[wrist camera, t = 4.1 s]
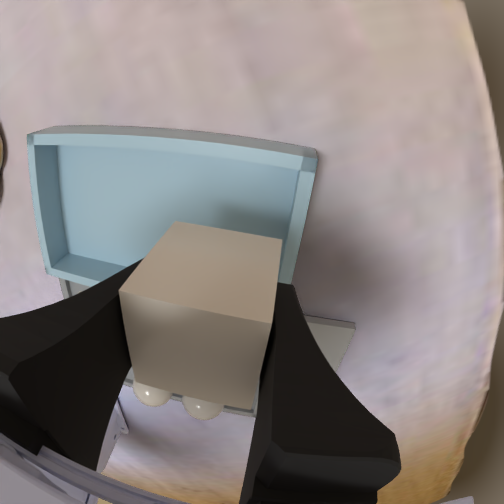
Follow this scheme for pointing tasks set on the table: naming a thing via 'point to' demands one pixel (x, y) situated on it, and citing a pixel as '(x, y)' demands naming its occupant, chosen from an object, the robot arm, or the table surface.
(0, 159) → the bread roll
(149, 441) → the table surface
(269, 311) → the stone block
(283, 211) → the blue bin
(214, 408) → the pebble
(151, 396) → the pebble
